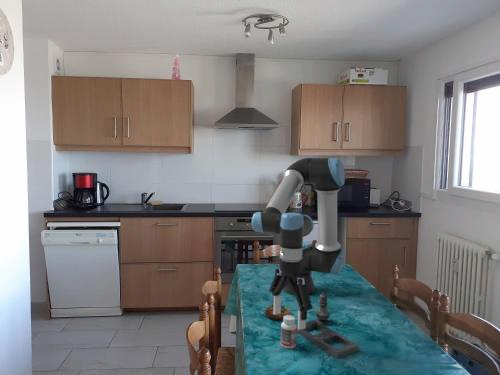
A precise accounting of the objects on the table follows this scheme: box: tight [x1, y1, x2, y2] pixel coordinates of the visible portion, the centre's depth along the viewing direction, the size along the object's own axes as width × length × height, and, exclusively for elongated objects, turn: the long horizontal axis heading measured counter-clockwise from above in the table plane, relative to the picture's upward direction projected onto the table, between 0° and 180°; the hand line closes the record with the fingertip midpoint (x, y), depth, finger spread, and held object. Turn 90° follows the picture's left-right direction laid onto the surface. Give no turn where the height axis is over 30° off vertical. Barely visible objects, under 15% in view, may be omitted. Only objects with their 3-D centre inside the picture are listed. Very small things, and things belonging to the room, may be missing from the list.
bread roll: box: [264, 304, 292, 322], centre depth 153 cm, size 11×11×5 cm
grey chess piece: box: [314, 291, 331, 326], centre depth 147 cm, size 6×6×12 cm
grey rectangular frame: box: [296, 319, 360, 360], centre depth 132 cm, size 22×10×2 cm, turn 32°
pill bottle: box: [280, 314, 298, 349], centre depth 128 cm, size 5×5×10 cm
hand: (288, 320), depth 128 cm, fingers open, 13 cm apart
